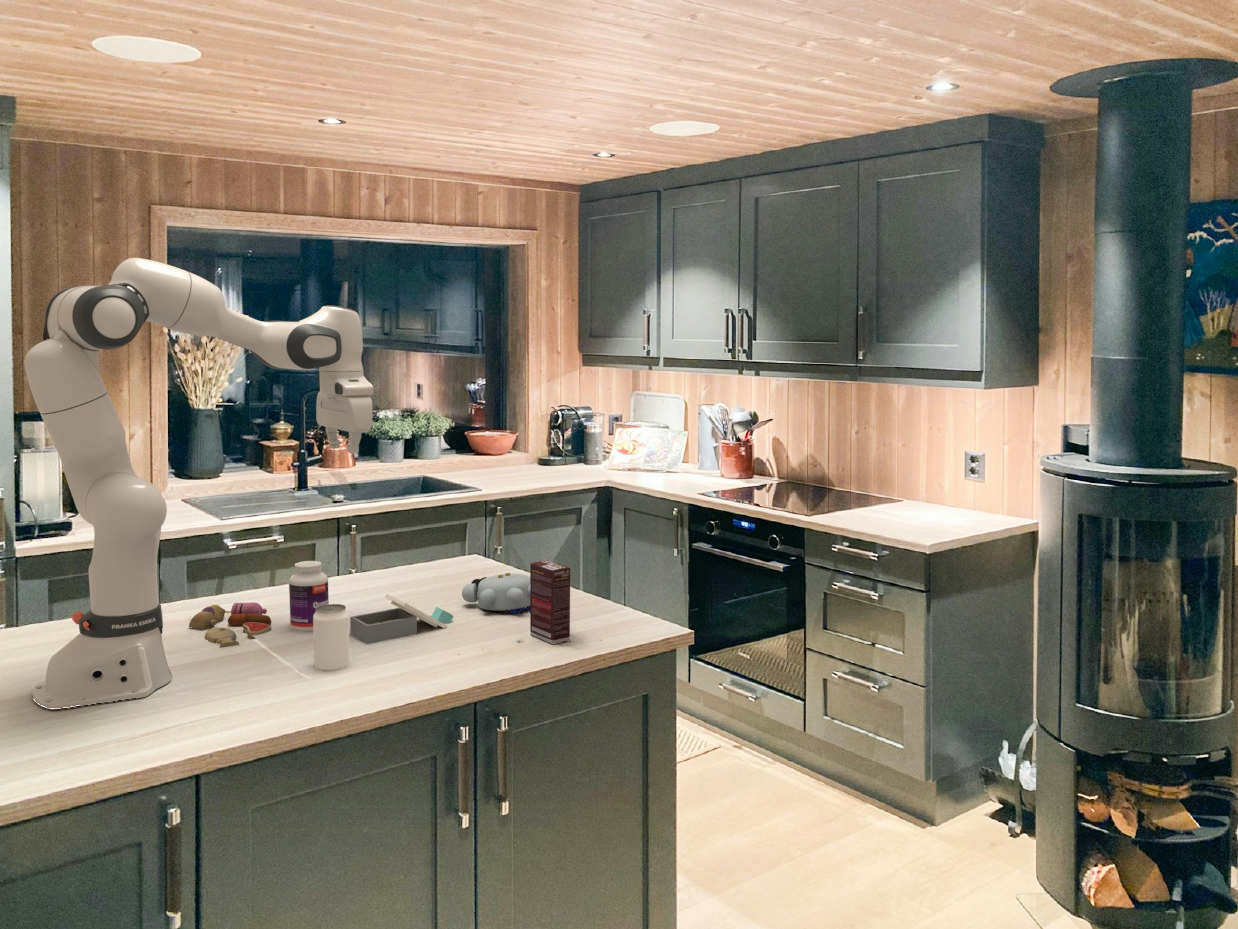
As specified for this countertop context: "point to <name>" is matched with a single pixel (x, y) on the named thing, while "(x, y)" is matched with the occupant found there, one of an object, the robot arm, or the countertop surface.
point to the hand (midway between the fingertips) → (343, 450)
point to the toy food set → (232, 622)
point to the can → (331, 637)
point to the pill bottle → (306, 594)
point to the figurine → (500, 592)
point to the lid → (435, 620)
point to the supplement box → (550, 601)
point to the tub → (383, 625)
